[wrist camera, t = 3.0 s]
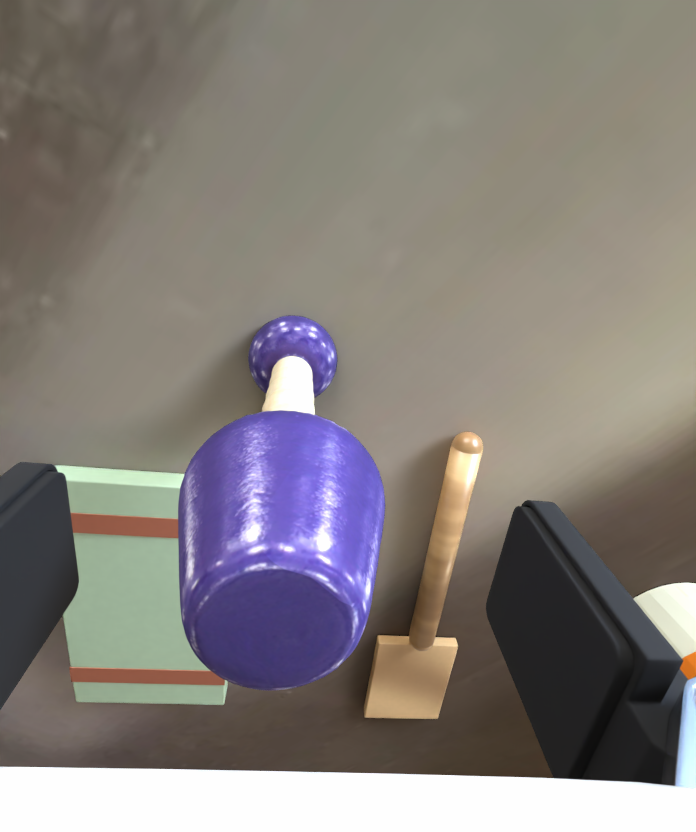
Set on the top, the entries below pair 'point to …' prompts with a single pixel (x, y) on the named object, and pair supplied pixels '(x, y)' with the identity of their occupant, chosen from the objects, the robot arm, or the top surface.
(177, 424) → the top surface
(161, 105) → the top surface
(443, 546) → the wooden spatula
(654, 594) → the reusable coffee cup
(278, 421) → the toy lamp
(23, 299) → the top surface
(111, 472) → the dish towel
